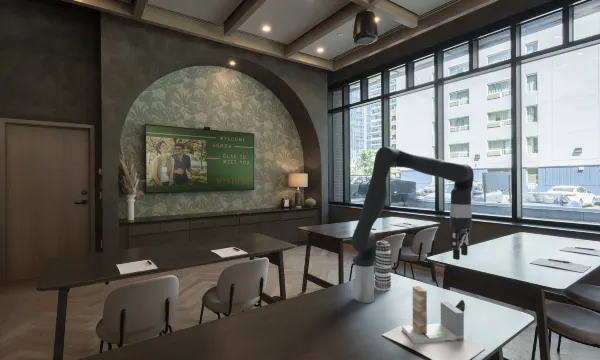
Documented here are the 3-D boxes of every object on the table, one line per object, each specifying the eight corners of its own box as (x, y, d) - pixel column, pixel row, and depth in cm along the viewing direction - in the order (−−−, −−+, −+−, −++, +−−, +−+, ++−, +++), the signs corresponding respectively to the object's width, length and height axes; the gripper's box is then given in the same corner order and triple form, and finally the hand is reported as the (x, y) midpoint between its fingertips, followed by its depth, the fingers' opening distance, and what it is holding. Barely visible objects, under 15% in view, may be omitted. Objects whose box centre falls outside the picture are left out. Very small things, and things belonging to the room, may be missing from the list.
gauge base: (414, 343, 115) (414, 315, 114) (402, 330, 124) (402, 304, 124) (463, 339, 117) (463, 312, 117) (447, 326, 127) (447, 301, 127)
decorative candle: (374, 290, 167) (374, 243, 166) (373, 284, 176) (373, 239, 175) (392, 291, 165) (392, 243, 165) (390, 285, 174) (390, 239, 174)
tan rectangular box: (424, 339, 114) (423, 294, 114) (412, 328, 122) (412, 286, 122) (431, 338, 114) (431, 294, 114) (420, 327, 123) (420, 286, 122)
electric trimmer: (467, 307, 146) (467, 300, 146) (459, 319, 134) (459, 311, 134) (458, 305, 148) (458, 298, 148) (450, 317, 136) (450, 309, 136)
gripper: (457, 213, 131) (456, 252, 131) (443, 216, 121) (443, 258, 121) (477, 214, 126) (476, 255, 126) (464, 218, 116) (464, 262, 116)
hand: (460, 257), depth 124 cm, fingers open, 8 cm apart
